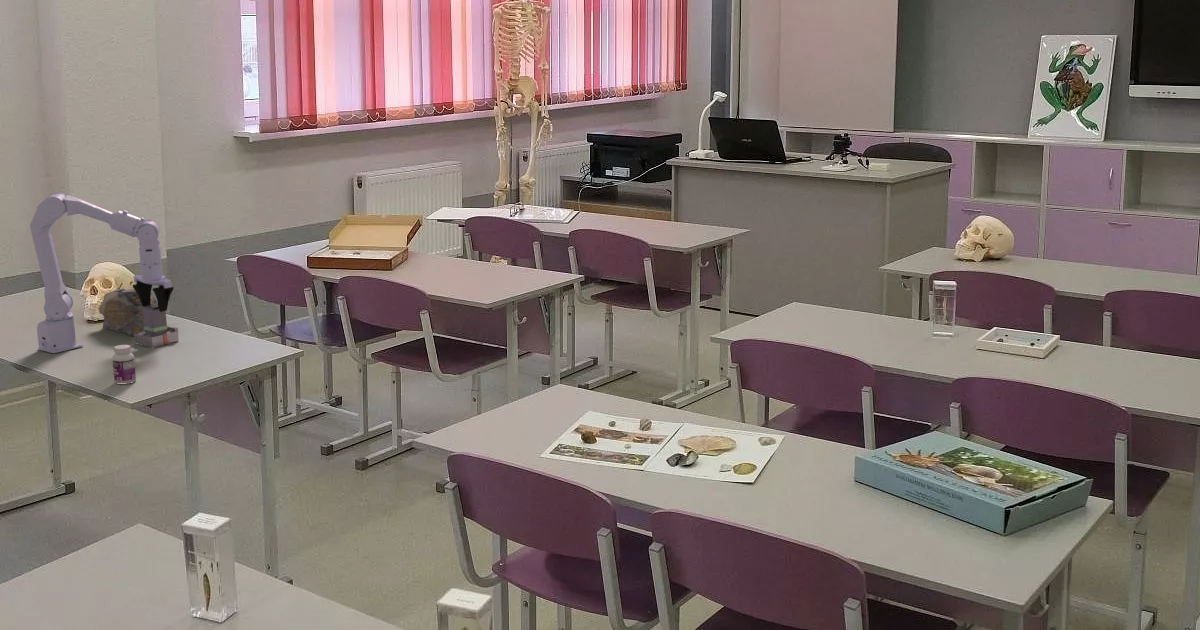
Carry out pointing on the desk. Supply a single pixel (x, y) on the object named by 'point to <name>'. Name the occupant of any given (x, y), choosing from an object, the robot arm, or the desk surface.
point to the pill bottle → (123, 364)
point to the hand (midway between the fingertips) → (154, 309)
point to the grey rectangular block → (154, 319)
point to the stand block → (157, 337)
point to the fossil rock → (123, 311)
